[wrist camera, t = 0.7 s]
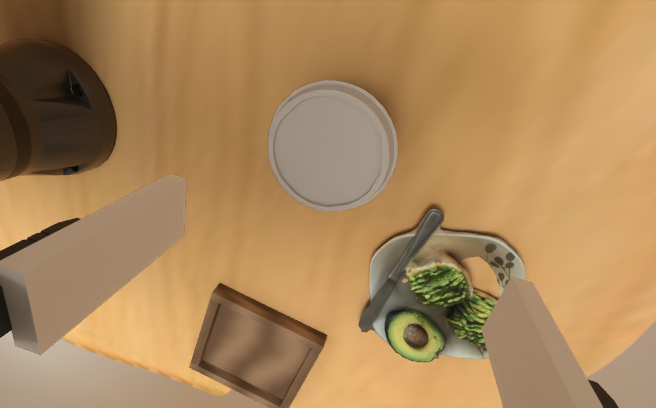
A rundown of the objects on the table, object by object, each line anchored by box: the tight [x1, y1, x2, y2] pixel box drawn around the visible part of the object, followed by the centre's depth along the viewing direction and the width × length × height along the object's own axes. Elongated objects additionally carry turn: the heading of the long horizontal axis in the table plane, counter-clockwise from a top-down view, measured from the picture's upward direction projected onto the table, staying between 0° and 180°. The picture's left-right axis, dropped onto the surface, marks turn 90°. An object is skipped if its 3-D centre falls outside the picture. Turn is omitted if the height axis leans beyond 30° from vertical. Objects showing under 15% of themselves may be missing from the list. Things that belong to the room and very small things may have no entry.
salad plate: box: [359, 209, 526, 362], centre depth 37 cm, size 19×18×5 cm
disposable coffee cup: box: [268, 80, 398, 212], centre depth 29 cm, size 10×10×12 cm
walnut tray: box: [189, 284, 327, 408], centre depth 49 cm, size 16×16×2 cm
